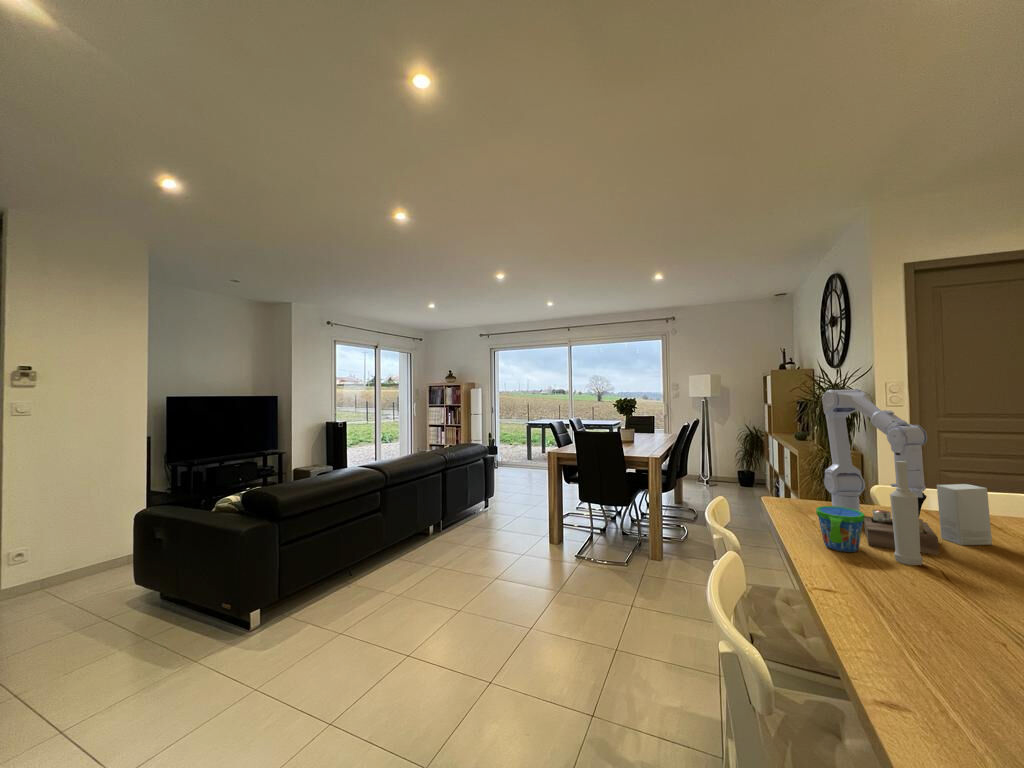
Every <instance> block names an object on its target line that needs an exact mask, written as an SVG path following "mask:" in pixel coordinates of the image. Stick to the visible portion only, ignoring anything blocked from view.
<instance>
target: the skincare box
mask: <svg viewBox="0 0 1024 768" xmlns="http://www.w3.org/2000/svg"><path fill="white" fill-rule="evenodd" d="M936 489H937V490H936V493H937V503H938V504H937V505H938V516H939V518H938V519H939V527H940V538H941V539H942V540H945V541H947V542H951V543H954V544H957V545H959V546H981V545H982V546H987V545H989V546H990V545H991V546H992V545H993V540H992V539H993V537H992V529H991V518H990V515H991V514H990V507H989V506H990V505H989V493H988V488H987V487H983V486H980V485H979V486H978V485H973V484H967V483H956V484H955V483H953V484H936Z"/></svg>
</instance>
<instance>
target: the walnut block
mask: <svg viewBox="0 0 1024 768" xmlns="http://www.w3.org/2000/svg"><path fill="white" fill-rule="evenodd" d="M864 516H865V519H864V521H863V529H864V530H865V531H864V530H863V531H864V534H865V537H867V538H866V541H867V544H868V546H870V547H875V546H877V547H878V548H883V547H886V548H885V549H890V548H894V549H893V550H895V540H894V530H893V520H892V518H891V524H892V525H890V524H881V523H873V516H867V515H864ZM923 528H924V533H920V552H922V553H921V554H927V553H928V555H935V556H936V555H937V556H940V548H939V547H940V546H939V545H940V544H939V537H938V536H937V534H936V533H935V532H934V531H933V530H932V528H931V526H930V525H929V524H928V523H927V522H926V521H925V522H924V521H923ZM877 547H876V548H877Z"/></svg>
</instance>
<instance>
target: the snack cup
mask: <svg viewBox="0 0 1024 768" xmlns="http://www.w3.org/2000/svg"><path fill="white" fill-rule="evenodd" d="M815 513H816V515H817V517H818V521H819V522H818V523H819V526H820V531H821V535H822V540H823V544H824V546H825V547H826V548H827V547H828V549H829V548H830V549H832V550H834V551H838V552H845V553H849V552H850V553H852V552H853V553H854V552H857V551H858V550H859V547H860V545H861V544H860V543H861V536H862V530H863V525H862V523H863V524H864V519H865V516H866V515H865V514H864V512H862V511H858V510H854V509H850V508H845V507H836V506H832V505H823V506H818V507H816V511H815Z"/></svg>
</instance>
